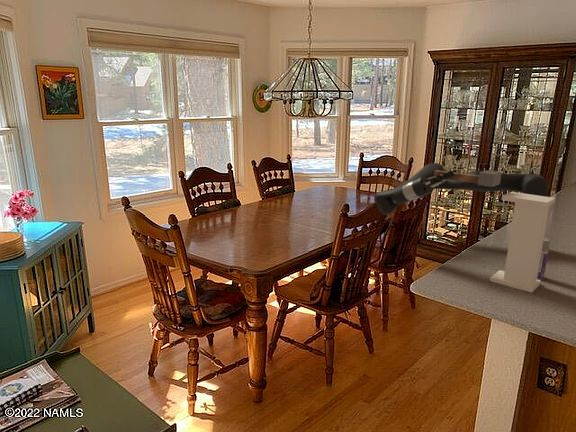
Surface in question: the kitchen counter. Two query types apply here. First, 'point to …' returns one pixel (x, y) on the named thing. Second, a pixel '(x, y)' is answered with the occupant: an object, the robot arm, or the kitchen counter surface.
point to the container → (543, 259)
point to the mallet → (476, 177)
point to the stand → (524, 241)
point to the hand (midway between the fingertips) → (454, 172)
